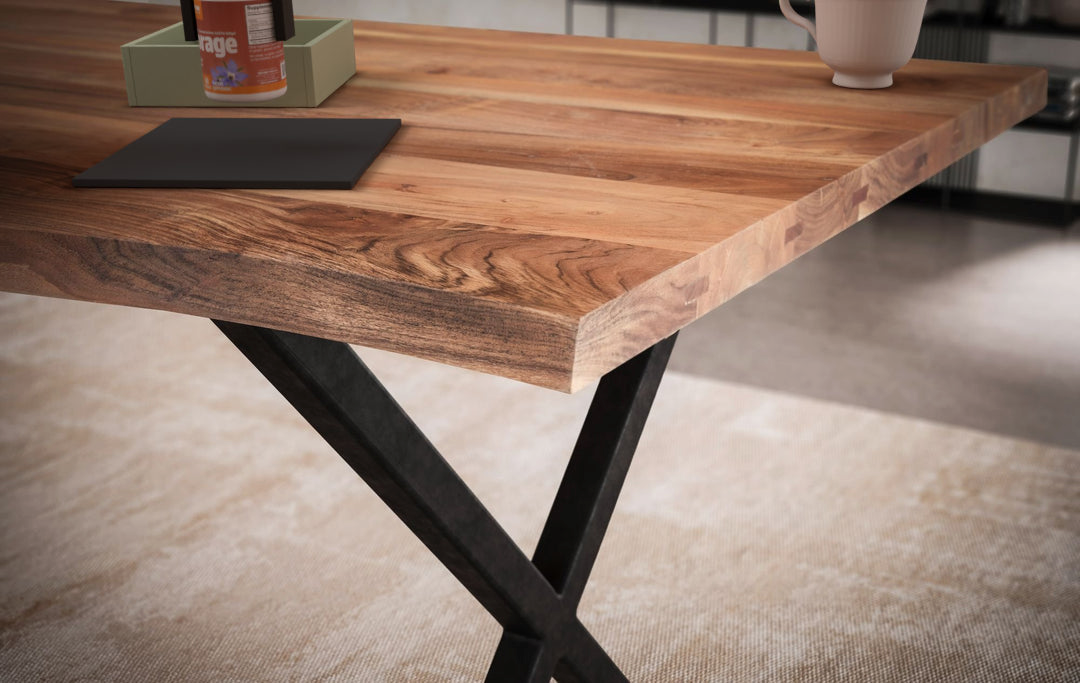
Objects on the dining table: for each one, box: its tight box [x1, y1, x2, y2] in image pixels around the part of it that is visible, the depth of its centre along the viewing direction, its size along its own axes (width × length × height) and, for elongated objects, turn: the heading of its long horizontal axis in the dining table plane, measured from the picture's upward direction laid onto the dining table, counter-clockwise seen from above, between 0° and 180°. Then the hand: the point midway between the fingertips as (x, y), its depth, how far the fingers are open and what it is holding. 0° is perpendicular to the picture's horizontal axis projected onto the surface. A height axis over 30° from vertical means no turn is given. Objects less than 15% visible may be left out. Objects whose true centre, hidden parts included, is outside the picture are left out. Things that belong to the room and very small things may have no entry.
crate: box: [120, 18, 357, 108], centre depth 114 cm, size 18×18×6 cm
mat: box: [71, 117, 403, 190], centre depth 91 cm, size 20×20×1 cm
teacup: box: [778, 0, 928, 90], centre depth 113 cm, size 12×15×10 cm
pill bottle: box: [194, 0, 287, 103], centre depth 87 cm, size 6×6×11 cm
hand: (240, 37), depth 88 cm, fingers closed on pill bottle, 6 cm apart
